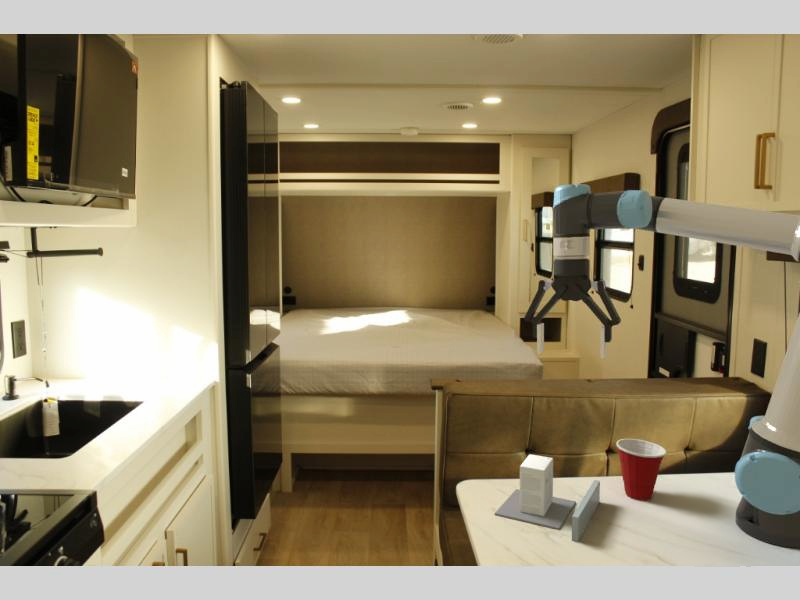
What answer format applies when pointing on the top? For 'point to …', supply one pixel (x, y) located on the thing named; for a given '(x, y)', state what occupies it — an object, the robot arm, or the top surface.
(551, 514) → the mat
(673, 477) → the top surface
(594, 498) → the low wall
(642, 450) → the plastic cup
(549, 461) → the small box
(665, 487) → the top surface
